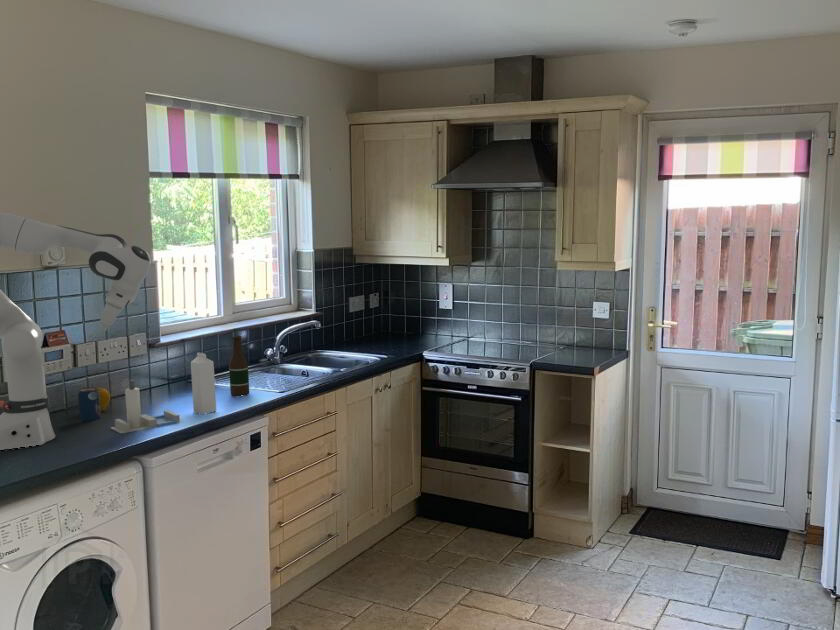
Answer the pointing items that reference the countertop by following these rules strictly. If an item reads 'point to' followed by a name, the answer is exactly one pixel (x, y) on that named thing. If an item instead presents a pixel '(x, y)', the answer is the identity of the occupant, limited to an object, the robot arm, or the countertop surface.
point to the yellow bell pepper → (103, 398)
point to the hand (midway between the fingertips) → (107, 324)
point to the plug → (133, 406)
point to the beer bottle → (238, 370)
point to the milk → (203, 384)
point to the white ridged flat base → (148, 422)
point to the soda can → (89, 404)
